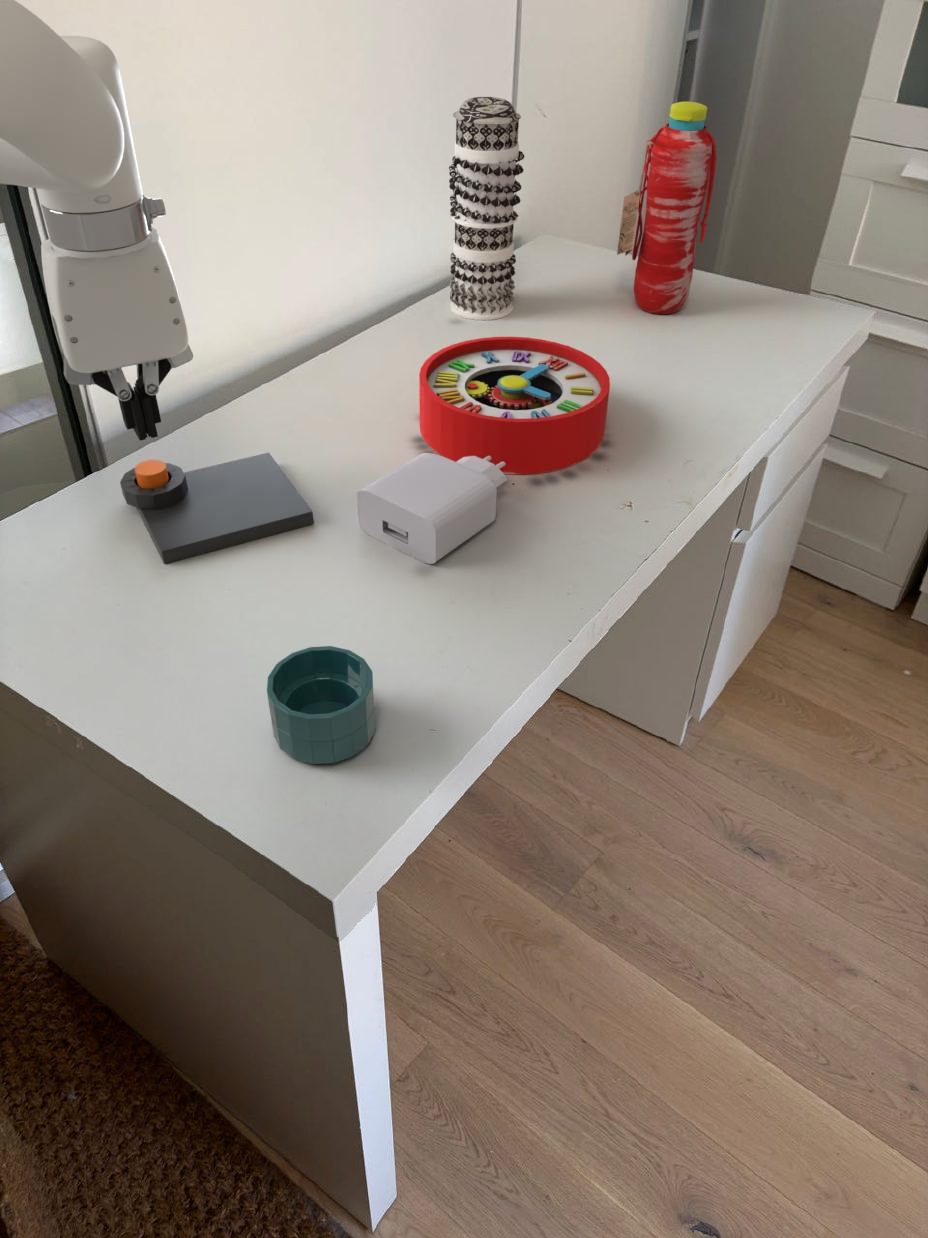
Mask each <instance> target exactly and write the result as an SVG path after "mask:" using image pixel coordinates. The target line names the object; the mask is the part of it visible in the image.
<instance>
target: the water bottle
mask: <svg viewBox="0 0 928 1238" xmlns="http://www.w3.org/2000/svg"><path fill="white" fill-rule="evenodd" d="M707 112H708V106H707V105H705V104H704V103H703V104H702V103H700V102H695V101H679V102H674V103H672V104H671V106H670V110H669V122H668V123H665V125H664V126H663V127H661V128H659V129H658V131H657V133H655V135H654V136H653V137H652V138H650V139H649V140H646V141H645V144H646V147H645V151H644V156H643V161H642V168H641V174H640V179H639V186H638V190H636V191H633V192H631V193H629V194H627V195H625V196H624V197H623V204H622V212H621V220H620V228H619V234H618V235H619V236H618V243H617V252H616V255H617V256H619V255H621V254H624V253H625V255H624V257H626V256H628V255H629V253H631V252H632V255H631V259H632V261H635V260H637V262H636V266H635V272H634V282H633V294H634V299H635V303H636V305H637V306H638V307H639V308H640V309H641V310H642V311H644V312H647V313H649V314H654V315H670V314H674V313H676V312H678V311H680V310H681V309H682V307H683V306H684V304H685V302H686V301H687V298H688V297H689V295H690V289H691V285H692V279H693V273H694V265H695V264H694V263H695V254H696V245H697V235H698V229H699V224H700V226H701V229H700V230H701V231H700V238H699V239H700V240H699V243H700V244H701V245H702V244H703V243H704V240H705V236H706V230H707V223H706V222H707V221H706V220H707V218H708V216H709V211H710V206H711V200H712V195H713V190H714V182H715V173H716V168H717V167H716V166H717V146H716V142H715V139H714V137H713V136H712V134H711V133H710V132H709V129H708V126H706V125H705V122H706V119H707ZM645 193H646V201H645V202H646V203H645V207H646V208H645V216H644V222H643V214H642V211H643V206H644V198H645ZM706 195H707V196H706ZM705 198H706V199H705ZM705 200H706V203H705V208H704V213H703V218H702V220H701V222H700V218H701V214H702V210H703V206H704V202H705ZM637 256H638V257H637Z"/></svg>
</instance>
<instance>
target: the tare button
mask: <svg viewBox="0 0 928 1238" xmlns="http://www.w3.org/2000/svg"><path fill="white" fill-rule="evenodd" d="M165 463H166V462H164V461H163V460H159V459H146V460H144V461H143V460H142V461H141V462H139V463H138V464H136V465H135V467H134V468H135V473H136V478H137V482H138V485H139V486H140V487H142V488H156V487H160V486H163V485H165V484H167V483H168V481H169V477H168V472H167V468H166V464H165Z"/></svg>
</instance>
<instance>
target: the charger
mask: <svg viewBox="0 0 928 1238" xmlns="http://www.w3.org/2000/svg"><path fill="white" fill-rule="evenodd" d="M490 460H491V456H487V457H485V458H484V459H481V458H478V457H476V456H469V457H463V458H461V459H460V460H458V461H457V462H454V461H452V460H450V459H447V458H445V457H443V456H441V455H439V454H435V453H429V452H422V453H420V454H419V455H417V456H415V457H413V458H412V459H410V460H408V461H407V462H405V463H403V464H401V465H400V466H398V467H396V468H395V469H393V470H391V471H390V472H388V473H387V474H385V475H383V476H382V477H379V478H378V479H376V480H375V481H373V482H372V483H370V484H368V485H367V486H364V487H363V488H361V489H360V490H359V491H358V490H357V492H356V504H357V505H356V507H357V521H358V526H359V527H360V528H361V530H363V532H365V533H366V534H367V535H368V536H370V537H372V538H373V539H376V540H377V541H380V542H382V543H384V544H386V545H387V546H390V547H392V548H394V549H395V550H398V551H399V552H401V553H404V554H406V555H408V556H410V557H411V558H414V559H415V560H418V561H420V562H422V563H424V564H428V565H434V564H435V563H437V562H438V561H439V560H441V559H442V558H444V557H445V556H446V555H448V554H449V553H450V552H452V551H454V550H455V549H456V548H458V547H459V546H461V545H462V544H464V543H465V542H466V541H468V540H469V539H470V538H472V537H473V536H475V535H476V534H477V533H479V532H480V531H482V530H483V529H484V528H486V527H487V526H489V525H490V524H491V523H493V522H495V520H496V515H497V497H498V496H497V494H498V489H497V488H498V487H499V486H501V485H502V484H504V483H505V482H507V481H508V478H507V476H506V474H504V473H503V472H501V471H500V470H499V469H500V468H502V467H503V466H505V462H500V463H499V464H497V465H496V466H495V465H494V464H493V463H490V462H488V461H490Z"/></svg>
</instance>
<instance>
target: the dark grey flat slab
mask: <svg viewBox="0 0 928 1238" xmlns="http://www.w3.org/2000/svg"><path fill="white" fill-rule="evenodd" d="M164 463H165V464H166V468H167V472H168V477H169V481H168V483H167V484H165V485H163V486H160V487H156V488H142V487H140V486H139V485H138V482H137V478H136V473H135V467H134V468H132V469H130V470H128V471H126V472H125V473H124V475H123V476H122V478H121V480H120V481H119V483H120V488H121V492H122V497H123V498H124V500H125V502H126V504H127V505H129V506H132V507H133V508H135V509H136V511H137V513H138V514H139V516H140V519H141V520H142V522H143V524H144V526H145V529H146V530H147V532H148V534H149V537H150V538H151V540H152V543H153V544H154V546H155V549H156V551H157V552H158V555H159V556H160V558H161V561H162V563H163V564H164V565H167V564H170V563H173V562H178V561H181V560H185V559H188V558H193V557H197V556H199V555H204V554H207V553H212V552H214V551H218V550H222V549H225V548H230V547H235V546H237V545H240V544H244V543H249V542H252V541H255V540H259V539H262V538H267V537H270V536H274V535H278V534H281V533H285V532H289V531H293V530H296V529H300V528H304V527H308V526H312V525H314V524H315V521H314V512H313V510H312V508H311V507H310V506H309V505H308V503H307V501H305V499H304V498H303V496H302V494H301V493H300V492H299V491H298V490H297V488H296V487H295V486H294V484H293V483H292V481H291V480H290V479H289V477H288V476H287V475H286V474H285V472H284V471H283V469H282V468H281V467H280V465H279V464H278V463H277V461H276V460H275V459H274V458H273V456H272V455H271V453H270V452H265V453H260V454H257V455H251V456H247V457H244V458H239V459H236V460H231V461H227V462H223V463H218V464H214V465H209V466H205V467H202V468H197V469H193V470H189V471H183V468H182V467H180V466H178V465H175V464H173V463H170V462H164Z"/></svg>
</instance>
